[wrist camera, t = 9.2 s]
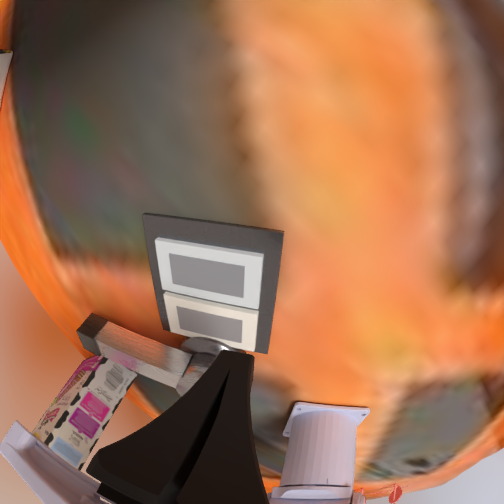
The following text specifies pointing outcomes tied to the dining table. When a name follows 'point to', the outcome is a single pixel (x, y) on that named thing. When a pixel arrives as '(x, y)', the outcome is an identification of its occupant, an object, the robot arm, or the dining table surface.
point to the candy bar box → (84, 408)
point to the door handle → (143, 354)
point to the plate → (223, 237)
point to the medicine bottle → (4, 69)
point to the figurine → (393, 496)
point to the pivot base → (205, 346)
